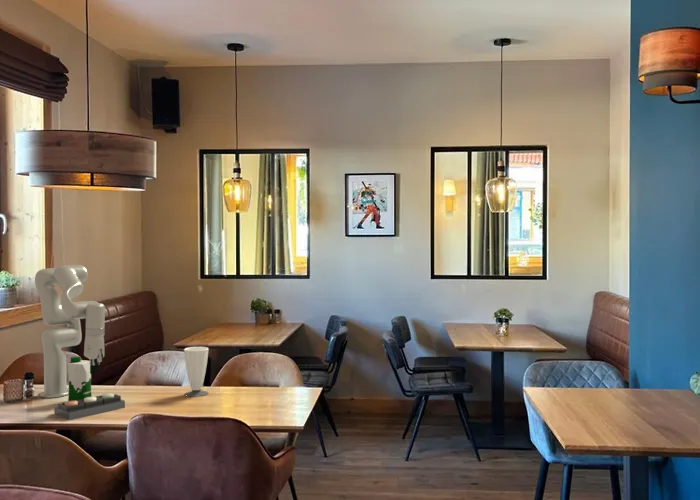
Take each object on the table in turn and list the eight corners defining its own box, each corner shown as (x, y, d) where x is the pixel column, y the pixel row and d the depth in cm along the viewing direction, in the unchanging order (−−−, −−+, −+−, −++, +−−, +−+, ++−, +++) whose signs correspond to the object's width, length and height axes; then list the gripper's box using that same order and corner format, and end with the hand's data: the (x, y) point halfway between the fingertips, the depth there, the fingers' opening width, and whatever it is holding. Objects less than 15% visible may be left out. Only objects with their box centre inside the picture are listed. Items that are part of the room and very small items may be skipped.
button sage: (99, 399, 259) (99, 394, 259) (110, 397, 262) (110, 392, 262) (105, 401, 255) (105, 396, 255) (116, 399, 259) (116, 394, 259)
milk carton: (77, 398, 273) (77, 355, 273) (95, 399, 271) (94, 356, 271) (64, 403, 264) (64, 359, 264) (82, 404, 262) (82, 359, 262)
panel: (54, 413, 248) (54, 402, 248) (109, 402, 266) (109, 391, 266) (69, 420, 239) (69, 408, 239) (124, 407, 257) (124, 397, 257)
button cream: (81, 403, 252) (81, 398, 252) (93, 400, 256) (93, 396, 256) (87, 405, 249) (87, 400, 249) (98, 402, 253) (98, 398, 253)
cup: (213, 393, 282) (213, 347, 282) (195, 398, 273) (195, 351, 272) (197, 389, 289) (196, 345, 288) (178, 394, 279) (178, 349, 279)
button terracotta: (62, 407, 246) (62, 402, 246) (74, 404, 250) (74, 399, 250) (68, 409, 243) (67, 404, 243) (80, 406, 247) (80, 401, 247)
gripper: (78, 330, 257) (78, 372, 258) (94, 335, 248) (93, 378, 248) (95, 328, 263) (95, 369, 264) (111, 333, 253) (111, 375, 254)
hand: (94, 373), depth 256 cm, fingers closed
